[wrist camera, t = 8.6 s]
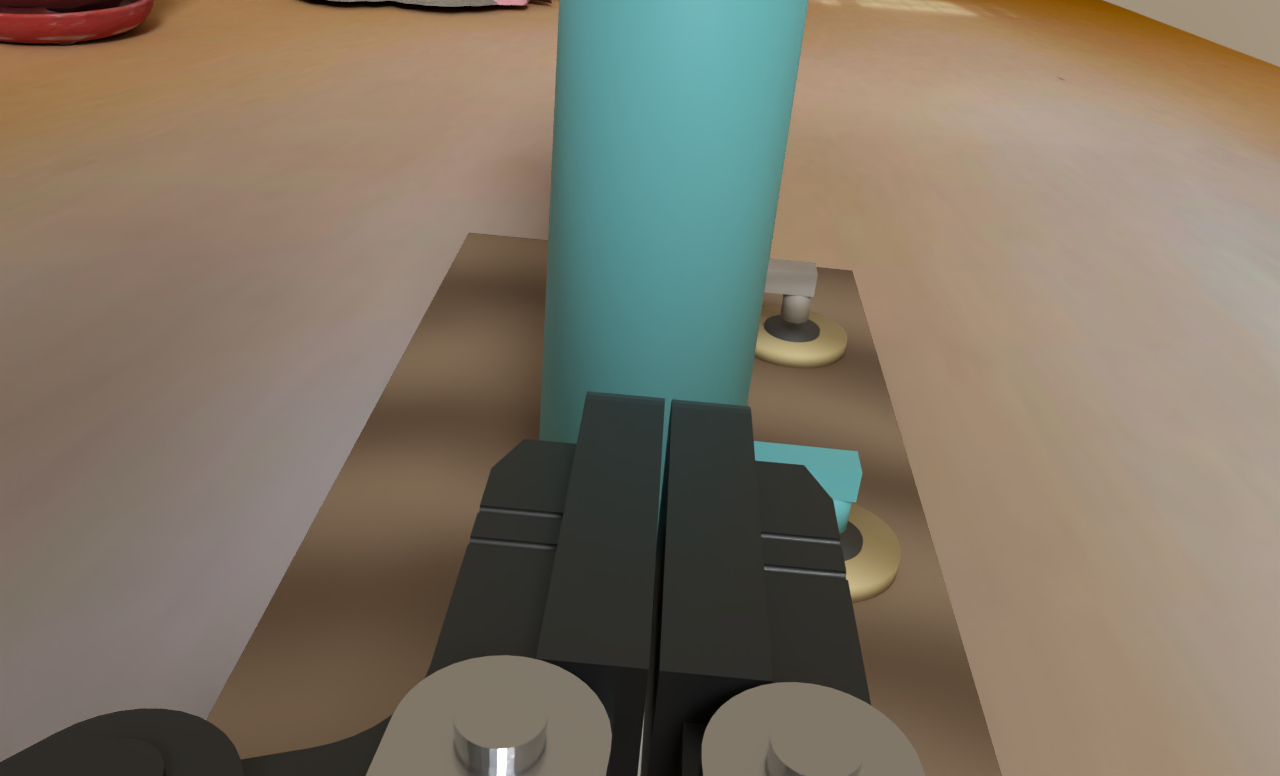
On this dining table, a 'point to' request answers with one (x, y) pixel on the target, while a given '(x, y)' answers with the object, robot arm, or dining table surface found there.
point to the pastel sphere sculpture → (455, 2)
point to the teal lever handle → (669, 209)
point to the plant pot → (68, 19)
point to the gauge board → (510, 411)
